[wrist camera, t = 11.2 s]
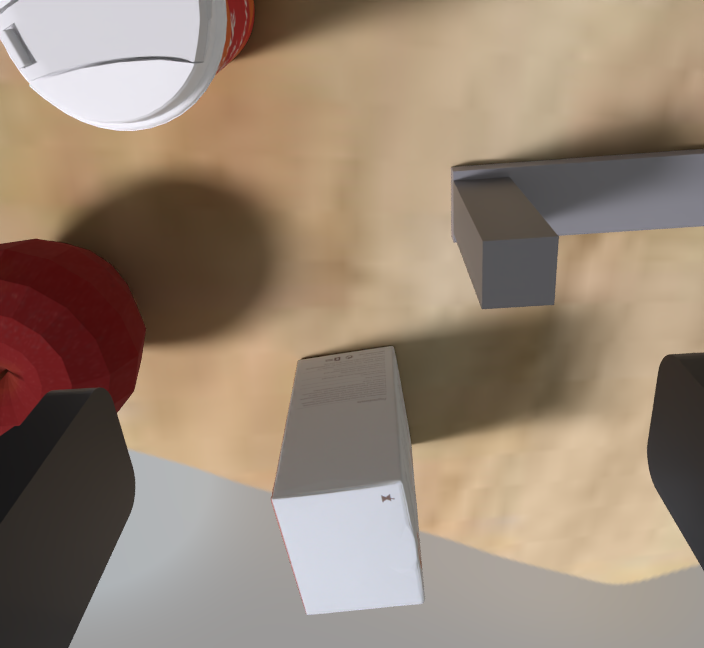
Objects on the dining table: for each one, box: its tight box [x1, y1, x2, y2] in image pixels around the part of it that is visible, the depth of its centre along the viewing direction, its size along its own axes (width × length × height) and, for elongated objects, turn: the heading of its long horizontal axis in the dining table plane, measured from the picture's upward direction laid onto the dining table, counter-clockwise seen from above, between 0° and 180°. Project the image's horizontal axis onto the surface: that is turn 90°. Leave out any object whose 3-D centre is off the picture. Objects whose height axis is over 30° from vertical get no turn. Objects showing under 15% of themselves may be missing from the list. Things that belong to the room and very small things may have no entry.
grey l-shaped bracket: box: [451, 149, 704, 309], centre depth 31 cm, size 4×18×11 cm, turn 95°
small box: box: [271, 346, 425, 615], centre depth 37 cm, size 8×6×13 cm
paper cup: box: [0, 0, 255, 131], centre depth 26 cm, size 8×8×14 cm
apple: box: [0, 239, 146, 436], centre depth 34 cm, size 11×11×12 cm
